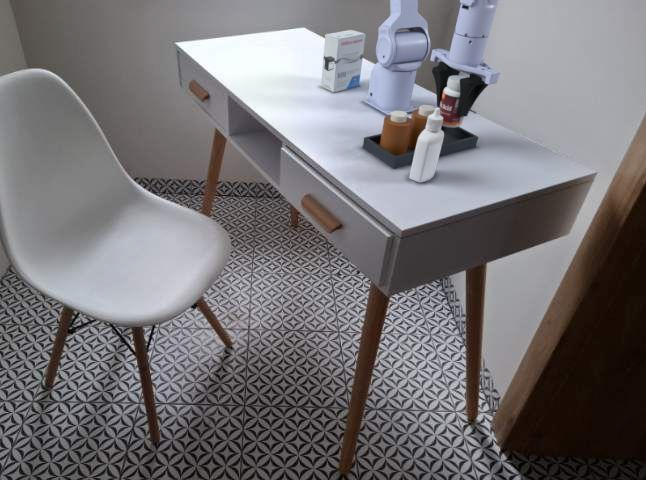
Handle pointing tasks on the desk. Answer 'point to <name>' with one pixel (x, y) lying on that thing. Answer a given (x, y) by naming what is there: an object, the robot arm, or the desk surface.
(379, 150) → the tray
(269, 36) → the desk surface
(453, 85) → the pill bottle
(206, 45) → the desk surface
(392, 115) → the amber bottle far
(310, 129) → the desk surface
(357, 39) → the ink box
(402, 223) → the desk surface
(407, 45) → the robot arm
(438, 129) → the eye dropper bottle
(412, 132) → the amber bottle middle
